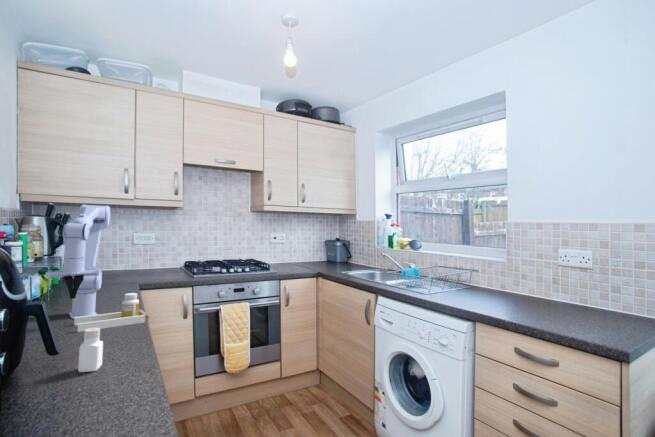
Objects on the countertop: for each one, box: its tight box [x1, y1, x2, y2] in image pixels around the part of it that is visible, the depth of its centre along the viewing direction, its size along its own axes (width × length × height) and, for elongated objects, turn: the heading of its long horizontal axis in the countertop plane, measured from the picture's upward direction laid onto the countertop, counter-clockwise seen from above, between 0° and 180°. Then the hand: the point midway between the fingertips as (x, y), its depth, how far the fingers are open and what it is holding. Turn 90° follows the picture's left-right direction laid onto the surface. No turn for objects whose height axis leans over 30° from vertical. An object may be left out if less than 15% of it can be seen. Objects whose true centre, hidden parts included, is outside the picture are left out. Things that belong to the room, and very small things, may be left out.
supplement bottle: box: [121, 292, 140, 318], centre depth 123 cm, size 5×5×10 cm
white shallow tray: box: [73, 309, 150, 333], centre depth 119 cm, size 10×21×2 cm, turn 132°
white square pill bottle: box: [77, 328, 104, 373], centre depth 81 cm, size 4×4×10 cm
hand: (72, 298), depth 115 cm, fingers closed
